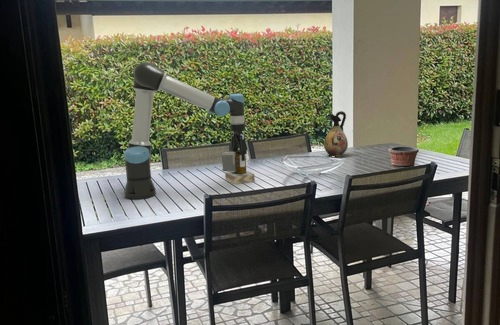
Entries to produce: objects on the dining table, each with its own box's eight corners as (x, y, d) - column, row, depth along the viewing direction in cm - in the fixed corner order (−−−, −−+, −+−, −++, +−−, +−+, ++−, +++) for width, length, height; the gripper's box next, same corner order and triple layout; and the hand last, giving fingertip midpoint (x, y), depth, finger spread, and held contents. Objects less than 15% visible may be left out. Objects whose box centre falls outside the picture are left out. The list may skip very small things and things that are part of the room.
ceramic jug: (329, 159, 294) (329, 113, 287) (320, 154, 308) (320, 110, 302) (353, 157, 297) (354, 111, 291) (344, 153, 312) (344, 109, 305)
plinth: (233, 184, 239) (233, 176, 238) (225, 179, 250) (225, 172, 249) (254, 181, 244) (254, 173, 243) (245, 176, 254) (245, 169, 253)
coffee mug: (241, 170, 270) (240, 153, 268) (225, 172, 267) (224, 155, 265) (234, 166, 283) (233, 150, 281) (218, 167, 279) (218, 151, 277)
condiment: (249, 173, 245) (248, 151, 242) (236, 175, 240) (235, 153, 238) (242, 170, 251) (241, 149, 248) (229, 173, 246) (228, 151, 244)
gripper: (252, 124, 232) (253, 167, 237) (236, 120, 251) (237, 160, 256) (239, 126, 229) (240, 169, 234) (223, 122, 248) (225, 162, 253)
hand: (239, 164), depth 245 cm, fingers open, 9 cm apart
